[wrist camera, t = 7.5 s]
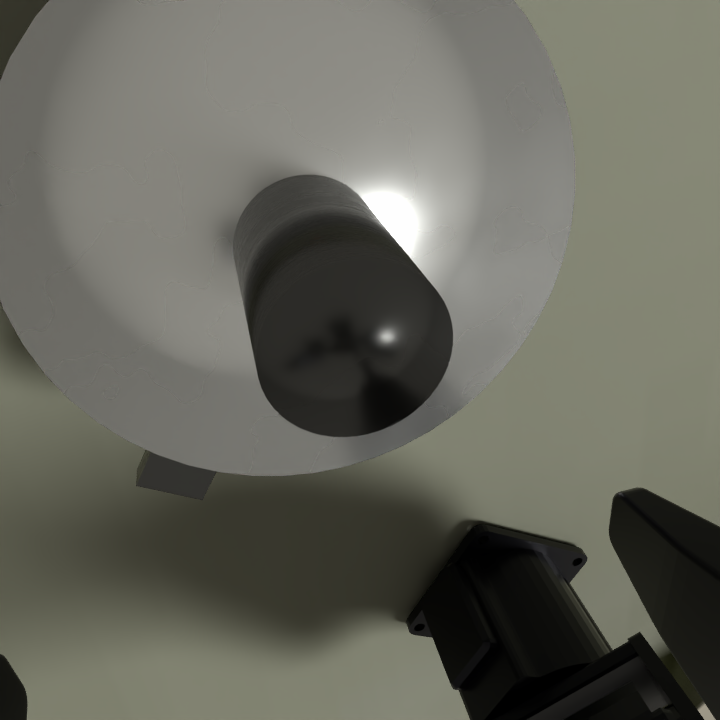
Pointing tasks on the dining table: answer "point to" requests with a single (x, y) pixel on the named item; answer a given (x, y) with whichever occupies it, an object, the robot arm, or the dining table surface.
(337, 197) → the lid
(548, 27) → the dining table surface
